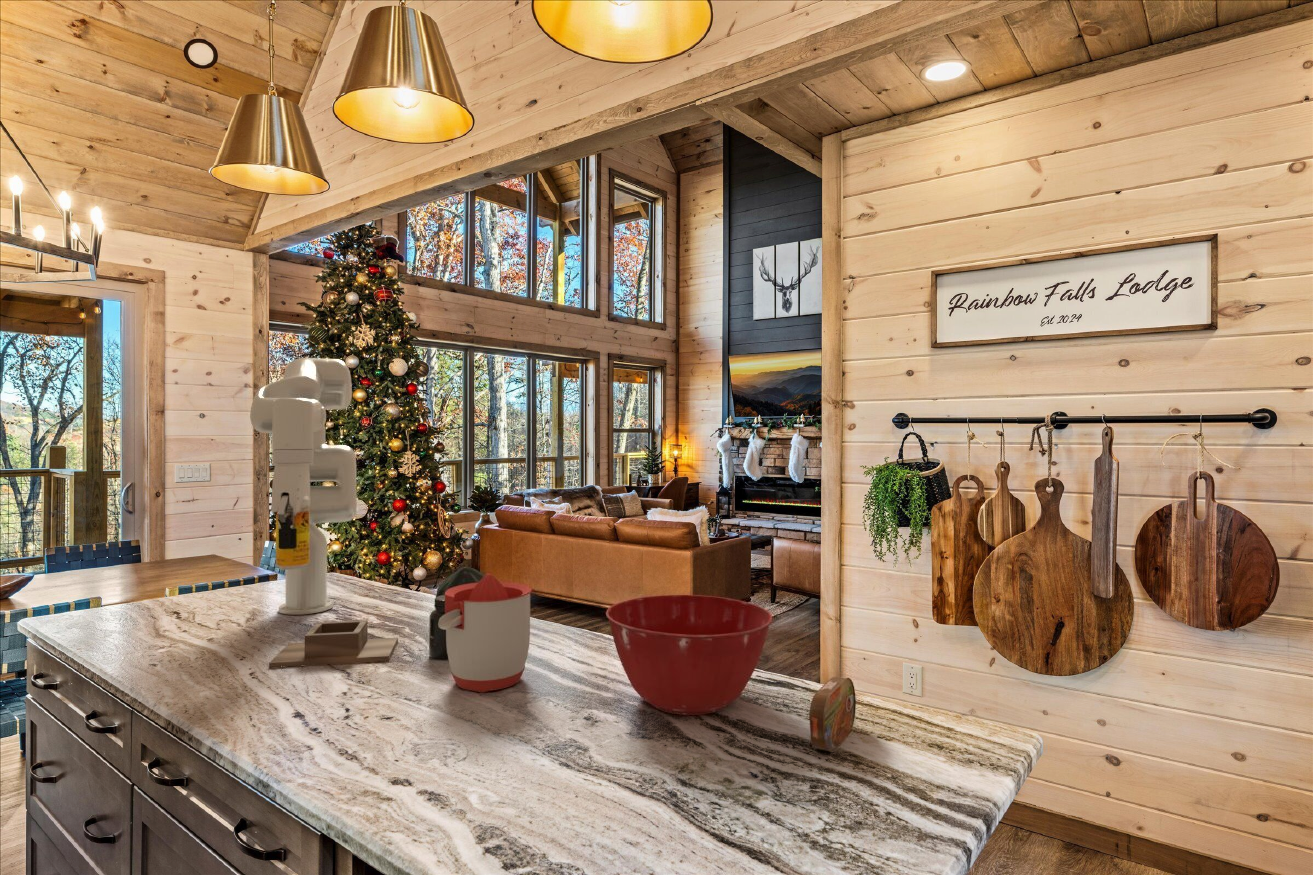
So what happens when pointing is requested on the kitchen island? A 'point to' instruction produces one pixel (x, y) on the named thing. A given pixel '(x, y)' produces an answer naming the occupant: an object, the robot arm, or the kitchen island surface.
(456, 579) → the squash
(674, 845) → the kitchen island surface
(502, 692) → the kitchen island surface
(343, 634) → the can caddy
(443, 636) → the supplement bottle
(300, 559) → the beer can
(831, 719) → the tin
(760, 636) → the mixing bowl
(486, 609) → the citrus juicer
